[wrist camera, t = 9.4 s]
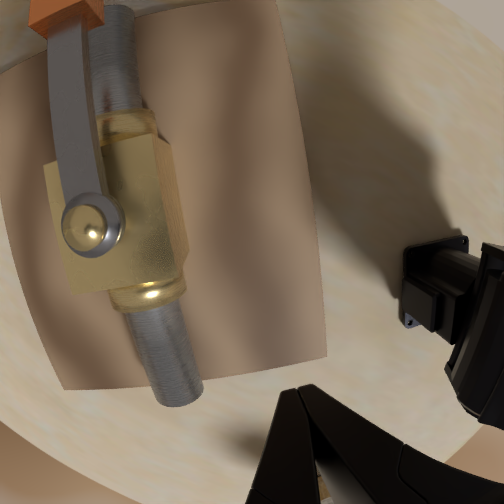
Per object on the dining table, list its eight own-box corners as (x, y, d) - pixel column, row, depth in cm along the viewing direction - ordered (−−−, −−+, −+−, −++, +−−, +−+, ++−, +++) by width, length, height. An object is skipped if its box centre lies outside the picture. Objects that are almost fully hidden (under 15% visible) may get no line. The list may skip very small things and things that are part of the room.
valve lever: (140, 239, 12) (121, 255, 10) (86, 253, 12) (59, 270, 10) (103, -37, 9) (87, -64, 6) (57, -18, 9) (36, -40, 6)
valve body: (157, 22, 15) (135, -30, 9) (218, 367, 21) (220, 429, 15) (81, 45, 15) (37, 8, 9) (147, 376, 20) (129, 436, 14)
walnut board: (270, 7, 16) (274, -4, 15) (321, 345, 22) (327, 356, 21) (4, 82, 15) (-7, 78, 14) (70, 379, 21) (64, 390, 19)
